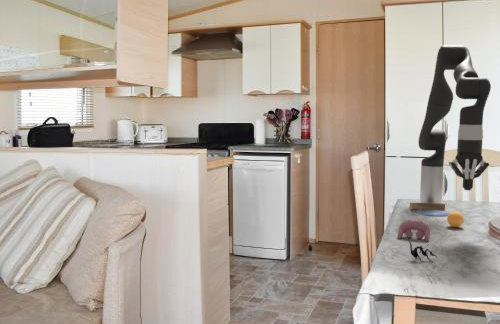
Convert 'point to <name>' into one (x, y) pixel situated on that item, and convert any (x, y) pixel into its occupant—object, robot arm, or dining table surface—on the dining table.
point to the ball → (455, 219)
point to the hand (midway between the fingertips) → (467, 189)
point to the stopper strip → (427, 206)
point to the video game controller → (414, 225)
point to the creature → (415, 253)
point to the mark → (433, 212)
